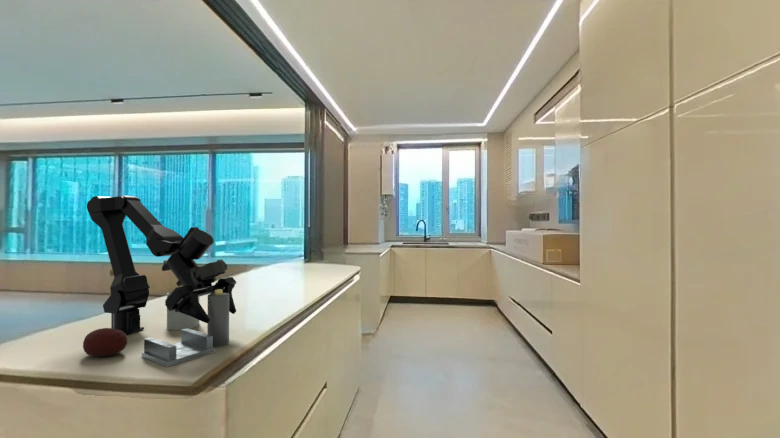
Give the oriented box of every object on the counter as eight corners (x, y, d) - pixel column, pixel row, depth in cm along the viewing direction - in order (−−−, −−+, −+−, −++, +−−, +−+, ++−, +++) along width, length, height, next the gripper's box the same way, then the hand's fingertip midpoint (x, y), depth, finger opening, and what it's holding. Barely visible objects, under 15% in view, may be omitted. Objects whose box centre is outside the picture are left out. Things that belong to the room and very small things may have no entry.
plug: (181, 343, 95) (181, 289, 95) (196, 337, 100) (197, 286, 100) (219, 348, 92) (219, 292, 92) (233, 341, 96) (233, 288, 97)
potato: (102, 348, 92) (102, 323, 92) (137, 351, 90) (137, 325, 90) (71, 359, 84) (71, 332, 84) (108, 362, 82) (108, 335, 82)
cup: (184, 330, 106) (185, 295, 106) (160, 329, 108) (160, 294, 108) (205, 322, 114) (205, 290, 114) (181, 321, 116) (182, 289, 116)
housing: (141, 356, 86) (141, 339, 86) (189, 343, 95) (189, 327, 95) (166, 367, 80) (166, 348, 80) (214, 351, 89) (214, 335, 89)
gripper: (174, 253, 87) (212, 304, 84) (230, 247, 105) (264, 289, 102) (148, 285, 90) (185, 335, 86) (208, 274, 107) (240, 316, 104)
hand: (222, 317), depth 95 cm, fingers open, 9 cm apart
